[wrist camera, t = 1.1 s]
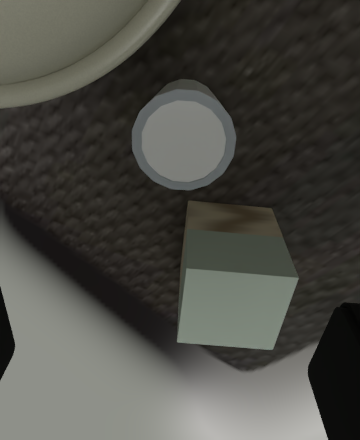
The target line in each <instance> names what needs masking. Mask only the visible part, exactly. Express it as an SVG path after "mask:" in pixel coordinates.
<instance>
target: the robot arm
mask: <svg viewBox="0 0 360 440" xmlns="http://www.w3.org/2000/svg"><path fill="white" fill-rule="evenodd" d="M14 349H15V342H14V338H13V334H12V330H11V326H10V322H9V319H8V314H7V311H6V307H5V303H4V299H3V295H2V291H1V287H0V380H1V378H2V376H3V374H4V372H5V370H6V368H7V366H8V364H9V362H10V360H11V358H12V356H13V353H14ZM308 377H309V381H310V384H311V387H312V390H313V393H314V396H315V399H316V402H317V406H318V409H319V412H320V415H321V418H322V421H323V424H324V428H325V430H326V434H327V437H328V440H360V304H357V303H343V304H342V305H341V306H340V307H337V308H335V310H334V312H333V314H332V316H331V318H330V320H329V322H328V325H327V327H326V329H325V331H324V333H323V335H322V338H321V340H320V342H319V344H318V346H317V349H316V351H315V353H314V355H313V357H312V359H311V361H310V364H309V366H308Z"/></svg>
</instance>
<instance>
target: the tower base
mask: <svg viewBox="0 0 360 440" xmlns="http://www.w3.org/2000/svg"><path fill="white" fill-rule="evenodd" d="M187 229H194V230H205V231H216V232H228V233H239V234H250V235H262V236H273V237H283V236H282V233H281V231H280V228H279V225H278V223H277V220H276V218H275V215H274V213H273V210H272V208H264V207H253V206H243V205H232V204H221V203H211V202H200V201H189V200H188V207H187V215H186V224H185V232H184V241H183V249H182V258H181V268H180V285H181V277H182V269H183V260H184V252H185V243H186V235H187ZM179 294H180V291H179Z"/></svg>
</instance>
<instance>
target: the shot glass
mask: <svg viewBox="0 0 360 440" xmlns="http://www.w3.org/2000/svg"><path fill="white" fill-rule="evenodd" d="M235 143H236V134H235V130H234V127H233V123H232V119H231V117H230V115H229V114H228V113H227V111H226V110H225V109H224V108H223V106H222V105H221V104H220V102H219V101H218V100H217V98H216V97H215V96H214V94H213V93H212V92H211V91H210V89H209V88H208V87H207V86H205V85H203V84H201V83H200V82H198V81H196V80H188V79H179V80H176V81H174V82H171V83H168V84H167V85H166V86H165V87H164V88H162V89H161V90H160V91H159V92H158V93H157V94H156V95H155V96H154V97H153V98H152V99H151V100H150V101H149V102H148V103H147V104H146V106H145V107H144V108H143V109H142V110H141V111H140V112H139V114H138V117H137V119H136V122H135V124H134V126H133V129H132V151H133V153H134V155H135V158H136V160H137V162H138V165H139V167H140V168H141V169H142V170H143V171H144V172H145V173H146V174H147V175H148V176H149V177H150V178H151V179H152V180H153V181H154V182H156V183H158V184H161V185H163V186H165V187H167V188H170V189H176V190H193V189H196V188H200V187H203V186H207V185H209V184H210V183H211V182H213V181H214V180H215V179H217V178H218V177H219V176H221V175H222V174H223V173H224V172H225V170H226V168H227V167H228V165H229V163H230V162H231V160H232V158H233V156H234V150H235Z"/></svg>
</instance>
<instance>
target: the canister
mask: <svg viewBox="0 0 360 440" xmlns="http://www.w3.org/2000/svg"><path fill="white" fill-rule="evenodd" d="M180 1H181V0H0V108H12V107H20V106H26V105H31V104H36V103H40V102H44V101H48V100H51V99H55V98H58V97H61V96H63V95H66V94H68V93H71V92H73V91H76V90H78V89H80V88H82V87H84V86H86V85H88V84H90V83H92V82H94V81H95V80H97V79H99V78H100V77H102V76H104V75H105V74H107V73H108V72H110V71H111V70H113V69H114V68H116V67H117V66H118V65H120V64H121V63H122V62H124V61H125V60H126V59H127V58H129V57H130V56H131V55H132V54H133V53H135V52H136V51H137V50H138V49H139V48H140V47H141V46H142V45H143V44H144V43H145V42H146V41H147V40H148V39H149V38H150V37H151V36H152V35H153V34H154V33H155V32H156V31H157V30H158V29H159V28H160V26H161V25H162V24H163V23H164V22H165V21H166V19H167V18H168V17H169V16H170V14H171V13H172V12H173V11H174V9H175V8H176V7H177V5H178V4H179V3H180Z"/></svg>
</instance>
